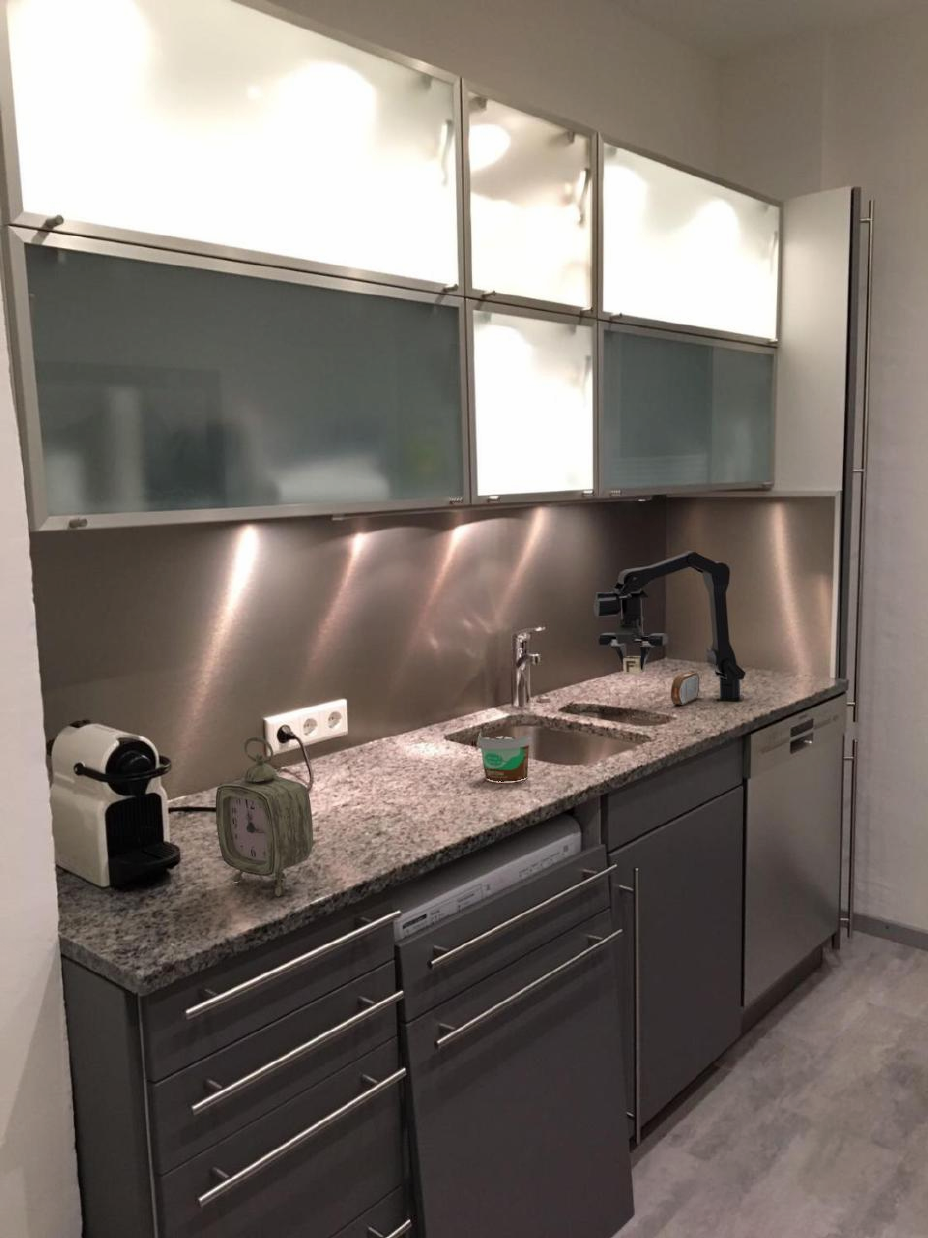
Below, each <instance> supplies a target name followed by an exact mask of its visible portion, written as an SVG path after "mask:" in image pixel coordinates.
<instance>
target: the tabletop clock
mask: <svg viewBox="0 0 928 1238" xmlns="http://www.w3.org/2000/svg"><path fill="white" fill-rule="evenodd" d="M251 742H258V743H259V742H260V743H262V744H264V745H265V746H266V747H267V748H268V750H269V752H270V755H269V757H268V758H263V754H262V753H257V754H256V755H255V756H254V755H252V754H251V753H249V751H248V745H249V744H250V743H251ZM243 749H244V753H245V754H246V756H247V758H248V759H249V760H251V761H252V762H254V763H256V764H253V765H251V766H250V767H249V769H247V771H246V773H245V775H244V778H242V779H239V780H237V781H233V782H230V783H227V784H224V785H221V786H219V787H217V789H216V793H215V819H216V820H215V823H216V831H217V838H218V844H219V849H220V853H221V856H222V859H223V861H224V862H225V863H226V864H227V865H229V866H230V867H232V868H234V869H235V870H239V872H238V873H235V874H234V875H232V877H231V879H232V883H234V882H239V881H241V880H242V881H243V876H242V874H243V873H246V874H249V875H255V876H260V877H269V876H273V875H274V877H275V880H276V879H277V880H276V883H277V886H276V887H275V889H274V894H275V896H277V895H282V894H284V895H285V892H286V889H285V888H284V886H283V885H282V881H283V880H282V878H284V877H286V874H285V872H284V870H286V869H289V868H291V867H293V866H296V865H298V864H300V863H301V864H302V863H304V862H306V861H308V859H309V858H310V857H309V856H310V855H311V853H312V851H313V847H314V825H313V823H314V822H313V814H312V805H311V798H310V794H309V791H308V788H307V786H305V785H304V784H303V783H300V782H298V781H295V780H292V779H289V778H285V777H282V776H279V775H278V774H277V772H276V770H275V768H274V767H273V766H272V765H270V764H268V763H269V762H271V761H272V760H273V758H274V750H273V746H272V745H271V743H270V742H269V741H268V740H266V739H265V738H262V737H261V736H259V737H258V736H251V737H249V738H247V740H246V741H245V742H244V747H243ZM284 879H285V878H284ZM281 880H282V881H281ZM242 881H241V882H242Z"/></svg>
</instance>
